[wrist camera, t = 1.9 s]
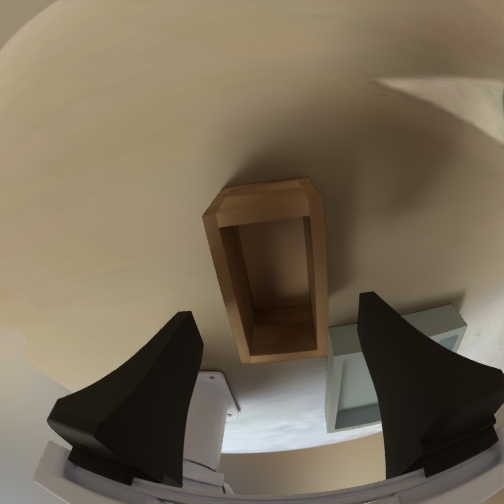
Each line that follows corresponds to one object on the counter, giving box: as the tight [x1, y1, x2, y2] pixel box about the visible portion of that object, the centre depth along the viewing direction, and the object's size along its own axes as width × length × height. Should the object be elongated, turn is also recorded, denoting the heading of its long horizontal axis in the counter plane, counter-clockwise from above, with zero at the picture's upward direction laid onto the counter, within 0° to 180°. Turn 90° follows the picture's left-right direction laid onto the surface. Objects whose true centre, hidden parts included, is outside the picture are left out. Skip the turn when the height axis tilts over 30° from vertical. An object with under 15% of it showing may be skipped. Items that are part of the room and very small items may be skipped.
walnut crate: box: [202, 177, 328, 363], centre depth 15 cm, size 5×9×5 cm, turn 10°
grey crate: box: [325, 304, 468, 433], centre depth 21 cm, size 12×13×3 cm
